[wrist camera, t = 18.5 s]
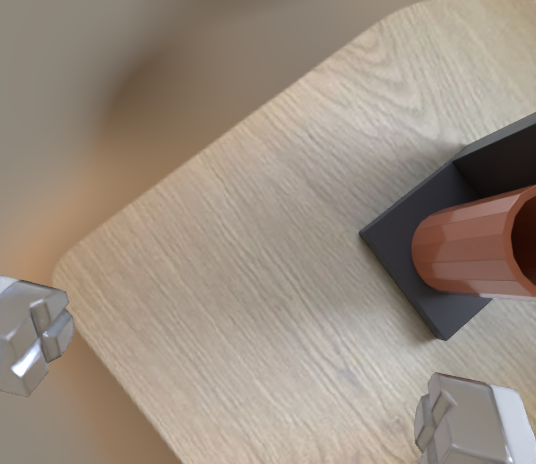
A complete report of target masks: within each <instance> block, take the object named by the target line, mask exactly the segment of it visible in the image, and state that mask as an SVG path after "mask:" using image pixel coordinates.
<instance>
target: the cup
mask: <svg viewBox="0 0 536 464" xmlns="http://www.w3.org/2000/svg"><path fill="white" fill-rule="evenodd" d="M411 254H412V260H413V264H414V266H415V269H416V271H417V273H418V274H419V276H420V277H421V278H422V280H423V281H424V282H425V283H426V284H427V285H429V286H430V287H431V288H433V289H435V290H437V291H439V292H443V293H448V294H452V295H461V296H473V297H485V298H496V299H508V300H519V301H531V302H536V185H532V186H529V187H525V188H521V189H517V190H514V191H510V192H506V193H502V194H499V195H495V196H491V197H487V198H484V199H480V200H476V201H472V202H469V203H465V204H461V205H457V206H454V207H450V208H446V209H442V210H440V211H438V212H435V213H433V214H431V215H429V216H428V217H426V218H425V219H424V220H423V221H422V222H421V223H420V224H419V226H418V227H417V229H416V231H415V233H414V236H413V239H412V246H411Z"/></svg>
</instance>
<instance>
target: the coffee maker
mask: <svg viewBox="0 0 536 464" xmlns="http://www.w3.org/2000/svg"><path fill="white" fill-rule="evenodd" d="M532 185H536V112H535V113H533V114H531V115H529V116H527V117H525V118H523V119H521V120H518V121H516V122H514V123H512V124H510V125H508V126H506V127H504V128H502V129H500V130H498V131H496V132H494V133H492V134H490V135H488V136H485V137H483V138H481V139H479V140H477V141H475V142H473V143H471V144H469V145H468V146H467V147H466V148H464V149H463V150H462V151H460V152H459V153H458V154H457V155H455V156H454V157H453V158H452V159H450V160H449V161H448V162H447V163H445V164H444V165H443V166H442V167H440V168H439V169H438V170H437V171H435V172H434V173H433V174H432V175H430V176H429V177H428V178H426V179H425V180H424V181H423V182H421V183H420V184H419V185H418V186H416V187H415V188H414V189H413V190H411V191H410V192H409V193H408V194H406V195H405V196H404V197H402V198H401V199H400V200H399V201H397V202H396V203H395V204H394V205H392V206H391V207H390V208H389V209H387V210H386V211H385V212H384V213H382V214H381V215H380V216H378V217H377V218H376V219H375V220H373V221H372V222H371V223H370V224H368V225H367V226H366V227H365V228H363V229H362V230H361V231H360V232H359V234H360V235H361V237H362V238H363V239H364V241H365V242H366V243H367V245H368V246H369V247H370V249H371V250H372V251H373V253H374V254H375V256H376V257H377V258H378V260H379V261H380V262H381V264H382V265H383V266H384V268H385V269H386V270H387V272H388V273H389V274H390V276H391V277H392V278H393V280H394V281H395V282H396V284H397V285H398V286H399V288H400V289H401V290H402V292H403V293H404V294H405V296H406V297H407V298H408V300H409V301H410V303H411V304H412V305H413V307H414V308H415V309H416V311H417V312H418V313H419V315H420V316H421V317H422V319H423V320H424V321H425V323H426V324H427V325H428V327H429V328H430V329H431V331H432V332H433V333H434V335H435V336H436V337H437V339H440V340H444V341H447V340H448V339H449V338H450V337H451V336H452V335H454V334H455V333H456V332H457V331H458V330H459V329H460V328H461V327H462V326H464V325H465V324H466V323H467V322H468V321H469V320H470V319H471V318H472V317H474V316H475V315H476V314H477V313H478V312H479V311H480V310H481V309H482V308H484V307H485V306H486V305H487V304H488V303H489V302H490V301H491V300H492V299H494V298H485V297H473V296H461V295H452V294H448V293H443V292H439V291H437V290H435V289H433V288H431V287H430V286H429V285H427V284H426V283H425V282H424V281H423V280H422V278H421V277H420V276H419V274H418V273H417V271H416V269H415V266H414V264H413V260H412V254H411V246H412V239H413V236H414V233H415V231H416V229H417V227H418V226H419V224H420V223H421V222H422V221H423V220H424V219H425V218H426V217H428V216H429V215H431V214H433V213H435V212H438V211H440V210H442V209H446V208H450V207H454V206H457V205H461V204H465V203H469V202H472V201H476V200H480V199H484V198H487V197H491V196H495V195H499V194H502V193H506V192H510V191H514V190H517V189H521V188H525V187H529V186H532Z"/></svg>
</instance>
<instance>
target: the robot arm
mask: <svg viewBox="0 0 536 464" xmlns="http://www.w3.org/2000/svg"><path fill="white" fill-rule="evenodd" d="M68 304H69V300H68V297H67V293H66V291H63V290H60V289H56V288H52V287H48V286H44V285H40V284H36V283H32V282H28V281H24V280H19V279H15V278H11V277H6V276H3V275H2V276H0V391H2V392H7V393H11V394H16V395H20V396H25V397H29V396H30V394H31V393H32V392H33V391H34V390H35V388H36V387H37V386H38V385H39V383H40V382H41V381H42V379H43V378H44V377H45V376H46V375H47V373H48V363H49V362H51V361H53V360H55V359H57V358H59V357H61V356H62V354H63V353H64V352H65V351H66V349H67V348H68V347H69V344H70V342H71V339H72V337H73V335H74V325H75V324H74V320H73V316H72V315H71V314H70V313H69V312H68V311H67V310H66V309H65V307H66V306H67V305H68ZM428 390H429V394H427V395H425V396H422V397H421V399H420V401H419V404H418V406H417V409H416V415H415V421H414V435H415V444H416V445H417V447H418V448H419V449H420V451H421V452H422V454H423V455H422V457H421V458H420V460H419V462H418V464H536V440H535V437H534V434H533V431H532V428H531V426H530V423H529V420H528V417H527V414H526V411H525V408H524V406H523V403H522V400H521V397H520V395H519V393H518V392H517V391H516V390H515V389H511V388H506V387H501V386H497V385H492V384H486V383H484V382H480V381H475V380H470V379H465V378H461V377H456V376H451V375H446V374H441V373H437V372H435V373H434V374H433V375H432V376H431V378H430V380H429V382H428Z"/></svg>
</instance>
